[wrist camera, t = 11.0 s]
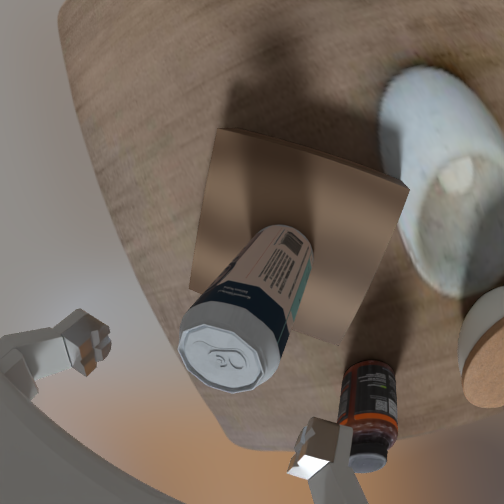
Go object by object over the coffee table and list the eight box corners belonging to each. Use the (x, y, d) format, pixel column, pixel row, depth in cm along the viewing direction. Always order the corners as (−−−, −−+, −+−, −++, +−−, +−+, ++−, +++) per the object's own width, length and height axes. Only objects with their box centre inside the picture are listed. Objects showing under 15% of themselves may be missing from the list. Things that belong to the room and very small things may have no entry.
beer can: (245, 227, 23) (153, 315, 12) (307, 217, 21) (258, 312, 11) (260, 284, 24) (191, 394, 14) (319, 278, 23) (284, 402, 12)
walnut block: (236, 127, 24) (217, 128, 21) (400, 180, 22) (409, 189, 18) (207, 269, 30) (188, 288, 27) (341, 319, 28) (338, 346, 24)
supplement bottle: (346, 396, 32) (333, 479, 22) (338, 361, 30) (323, 450, 20) (396, 391, 29) (396, 475, 19) (394, 353, 28) (398, 444, 18)
